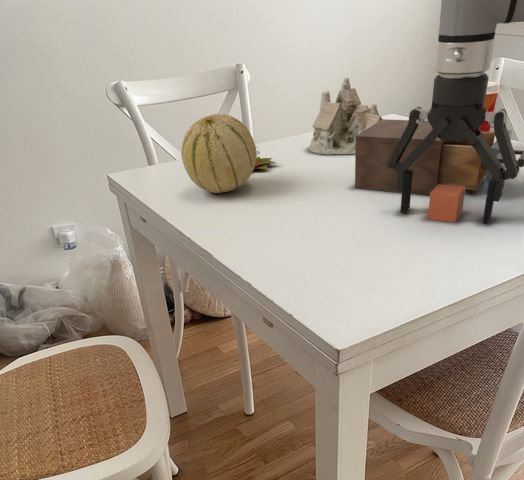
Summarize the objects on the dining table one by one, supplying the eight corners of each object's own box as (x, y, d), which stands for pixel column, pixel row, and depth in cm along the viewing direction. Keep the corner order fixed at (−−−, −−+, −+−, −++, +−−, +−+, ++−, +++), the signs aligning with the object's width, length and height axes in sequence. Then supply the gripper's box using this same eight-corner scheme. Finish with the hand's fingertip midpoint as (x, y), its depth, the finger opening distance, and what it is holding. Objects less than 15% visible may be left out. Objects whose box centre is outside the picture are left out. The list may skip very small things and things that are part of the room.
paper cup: (445, 156, 118) (453, 86, 110) (464, 148, 122) (473, 80, 114) (478, 161, 113) (489, 88, 105) (497, 152, 117) (508, 82, 109)
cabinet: (455, 173, 108) (461, 122, 102) (435, 196, 98) (441, 140, 93) (379, 167, 115) (381, 119, 109) (354, 188, 105) (355, 135, 100)
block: (462, 213, 91) (465, 186, 88) (455, 222, 88) (458, 195, 85) (435, 210, 93) (437, 184, 90) (427, 219, 90) (430, 192, 87)
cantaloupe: (258, 177, 117) (252, 102, 108) (259, 199, 104) (252, 117, 96) (191, 182, 117) (179, 108, 109) (184, 205, 105) (170, 124, 96)
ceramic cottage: (301, 147, 133) (303, 80, 124) (356, 138, 139) (362, 73, 130) (336, 165, 122) (340, 93, 113) (394, 154, 128) (403, 84, 119)
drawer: (528, 175, 101) (537, 131, 96) (516, 197, 92) (525, 149, 88) (427, 167, 109) (431, 126, 105) (408, 187, 101) (411, 143, 96)
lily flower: (273, 174, 117) (271, 152, 115) (219, 175, 119) (217, 154, 117) (281, 159, 127) (279, 138, 124) (231, 160, 129) (229, 140, 126)
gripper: (370, 77, 81) (365, 213, 93) (552, 78, 70) (520, 233, 82) (387, 69, 86) (381, 199, 98) (559, 69, 75) (528, 216, 87)
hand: (444, 215), depth 90 cm, fingers open, 13 cm apart
